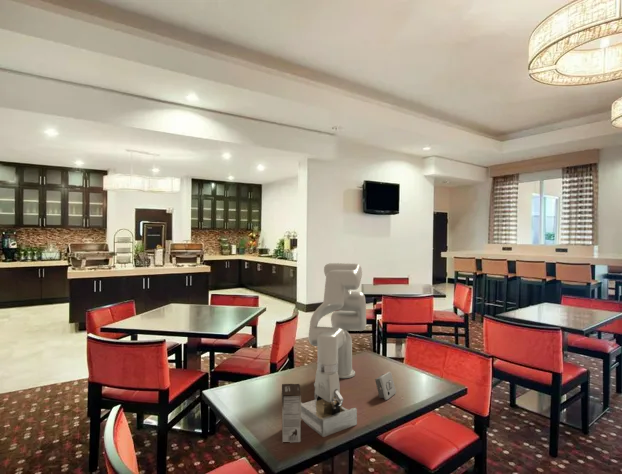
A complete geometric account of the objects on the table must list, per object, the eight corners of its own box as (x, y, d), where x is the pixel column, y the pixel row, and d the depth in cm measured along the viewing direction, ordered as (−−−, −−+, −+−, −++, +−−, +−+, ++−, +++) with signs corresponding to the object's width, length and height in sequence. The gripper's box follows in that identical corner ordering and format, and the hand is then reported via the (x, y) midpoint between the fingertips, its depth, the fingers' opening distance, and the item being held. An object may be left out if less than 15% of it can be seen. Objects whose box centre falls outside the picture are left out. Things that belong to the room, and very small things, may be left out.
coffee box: (281, 429, 129) (281, 383, 129) (299, 428, 130) (299, 382, 130) (281, 443, 120) (281, 394, 120) (301, 442, 120) (301, 393, 121)
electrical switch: (386, 401, 151) (384, 378, 152) (375, 398, 154) (373, 376, 155) (396, 393, 158) (394, 371, 159) (385, 391, 162) (384, 370, 162)
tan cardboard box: (316, 420, 134) (316, 400, 134) (333, 414, 138) (333, 395, 138) (324, 426, 129) (323, 406, 129) (341, 419, 134) (341, 400, 134)
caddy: (288, 409, 144) (288, 395, 144) (319, 400, 152) (319, 386, 152) (323, 437, 124) (323, 420, 124) (356, 424, 132) (356, 408, 132)
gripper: (306, 361, 139) (306, 406, 139) (333, 376, 125) (333, 426, 125) (322, 358, 143) (323, 401, 143) (350, 371, 129) (350, 420, 129)
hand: (327, 412), depth 134 cm, fingers open, 9 cm apart
